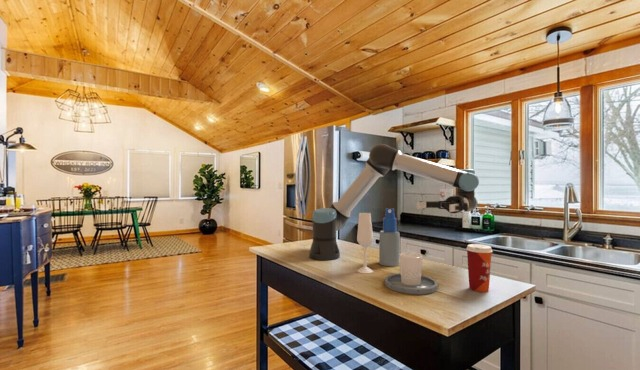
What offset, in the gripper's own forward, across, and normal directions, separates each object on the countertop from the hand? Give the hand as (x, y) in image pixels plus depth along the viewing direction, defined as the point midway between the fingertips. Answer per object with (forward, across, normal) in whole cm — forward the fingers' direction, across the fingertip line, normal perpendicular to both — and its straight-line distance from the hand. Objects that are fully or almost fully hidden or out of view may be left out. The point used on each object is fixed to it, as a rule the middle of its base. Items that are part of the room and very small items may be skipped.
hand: (433, 206), depth 125 cm
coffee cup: (+3, -19, -27) cm, 33 cm away
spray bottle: (-3, +22, -28) cm, 35 cm away
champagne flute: (+14, +22, -28) cm, 38 cm away
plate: (+17, 0, -27) cm, 32 cm away
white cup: (+17, 0, -26) cm, 31 cm away
